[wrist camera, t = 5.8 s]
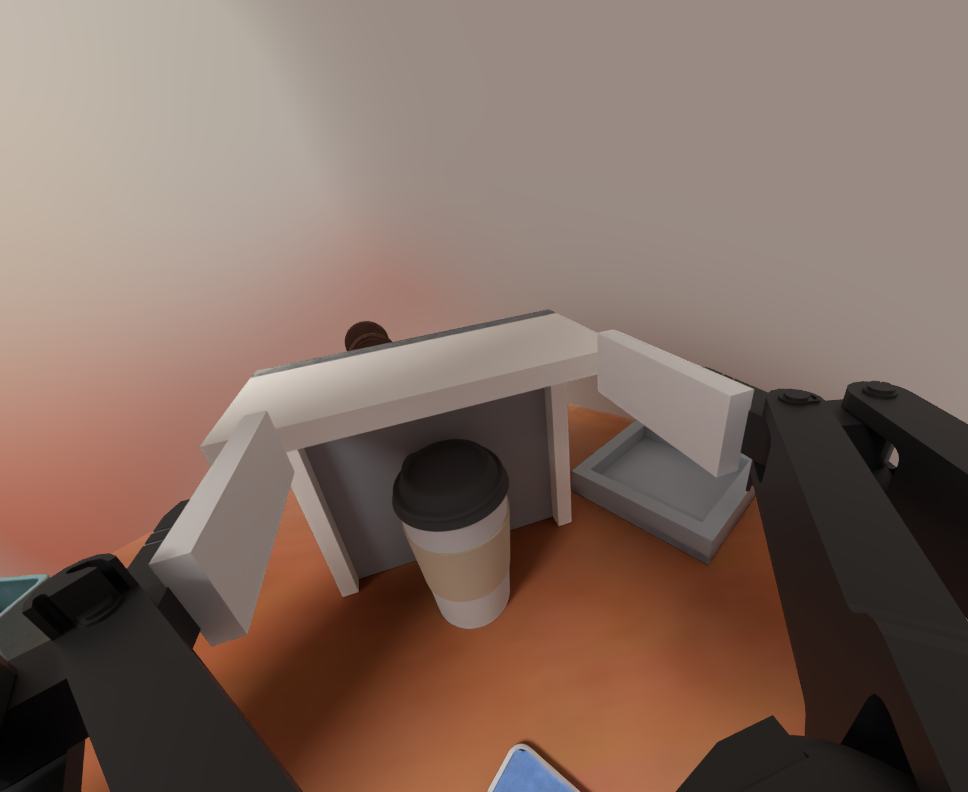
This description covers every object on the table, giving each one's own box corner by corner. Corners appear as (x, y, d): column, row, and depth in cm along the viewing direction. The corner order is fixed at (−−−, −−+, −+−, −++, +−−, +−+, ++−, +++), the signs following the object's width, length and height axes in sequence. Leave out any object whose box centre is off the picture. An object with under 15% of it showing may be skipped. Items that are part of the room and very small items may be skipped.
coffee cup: (523, 550, 38) (507, 423, 31) (522, 643, 30) (502, 501, 23) (436, 551, 39) (403, 430, 33) (413, 641, 31) (364, 505, 25)
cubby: (336, 687, 29) (199, 446, 19) (344, 571, 39) (255, 370, 28) (614, 584, 33) (623, 345, 23) (559, 503, 43) (548, 309, 33)
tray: (707, 564, 34) (712, 541, 33) (572, 490, 45) (571, 470, 43) (765, 480, 42) (771, 458, 41) (638, 435, 53) (640, 416, 51)
